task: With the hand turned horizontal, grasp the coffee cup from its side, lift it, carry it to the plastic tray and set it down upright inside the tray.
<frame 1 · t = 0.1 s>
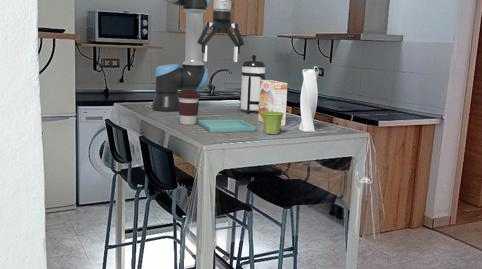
hand: (220, 61, 215), 28 cm above the table, tool pointing down, fingers open, 13 cm apart
plant pot: (271, 134, 207), on the table
tray: (226, 127, 216), on the table
coffee press: (253, 112, 265), on the table
coffee cup: (188, 124, 221), on the table
skyscraper: (307, 131, 216), on the table
coffeecake box: (271, 123, 232), on the table
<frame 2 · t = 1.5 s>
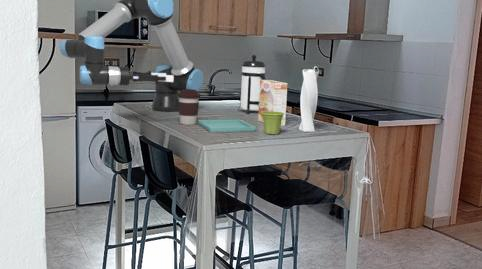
hand: (169, 77, 214), 20 cm above the table, tool horizontal, fingers open, 13 cm apart
nothing on the table moved.
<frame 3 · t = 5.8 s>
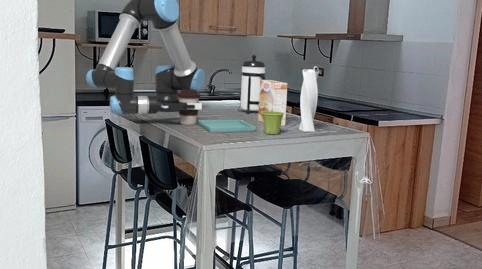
hand: (198, 104, 221), 9 cm above the table, tool horizontal, fingers closed on coffee cup, 9 cm apart
coffee cup: (188, 124, 221), on the table, touching gripper
everything else where it was.
when the fingers open (10 cm above the table, at t = 10.3 s): coffee cup moves 3 cm, point 1 cm above the table.
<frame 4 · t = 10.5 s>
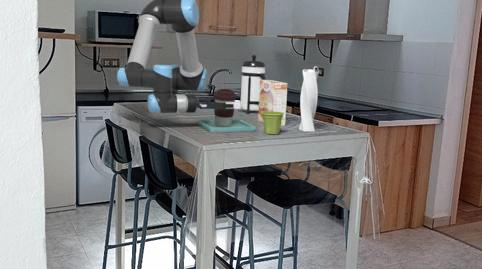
hand: (235, 103, 215), 10 cm above the table, tool horizontal, fingers open, 11 cm apart
coffee cup: (223, 124, 217), point 1 cm above the table, touching gripper
everything else where it was.
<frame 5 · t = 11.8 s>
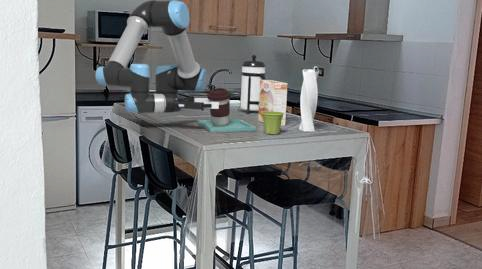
hand: (213, 103, 212), 11 cm above the table, tool horizontal, fingers open, 13 cm apart
coffee cup: (220, 123, 218), point 1 cm above the table, touching tray
everything else where it was.
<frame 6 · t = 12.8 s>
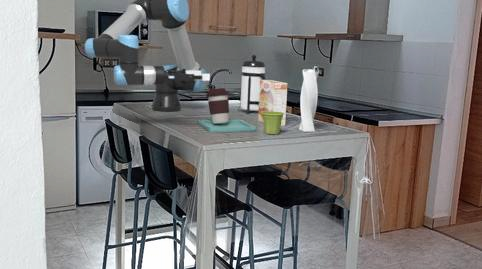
hand: (205, 75, 207), 22 cm above the table, tool horizontal, fingers open, 13 cm apart
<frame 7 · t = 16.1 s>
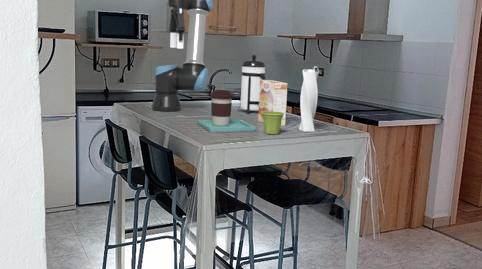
hand: (176, 48, 217), 33 cm above the table, tool pointing down, fingers open, 13 cm apart
at the end: coffee cup inside the target area on the tray (3.9 cm from its centre), point 0.4 cm above the tray's base; coffee cup tilted 0°; the gripper is holding nothing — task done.
